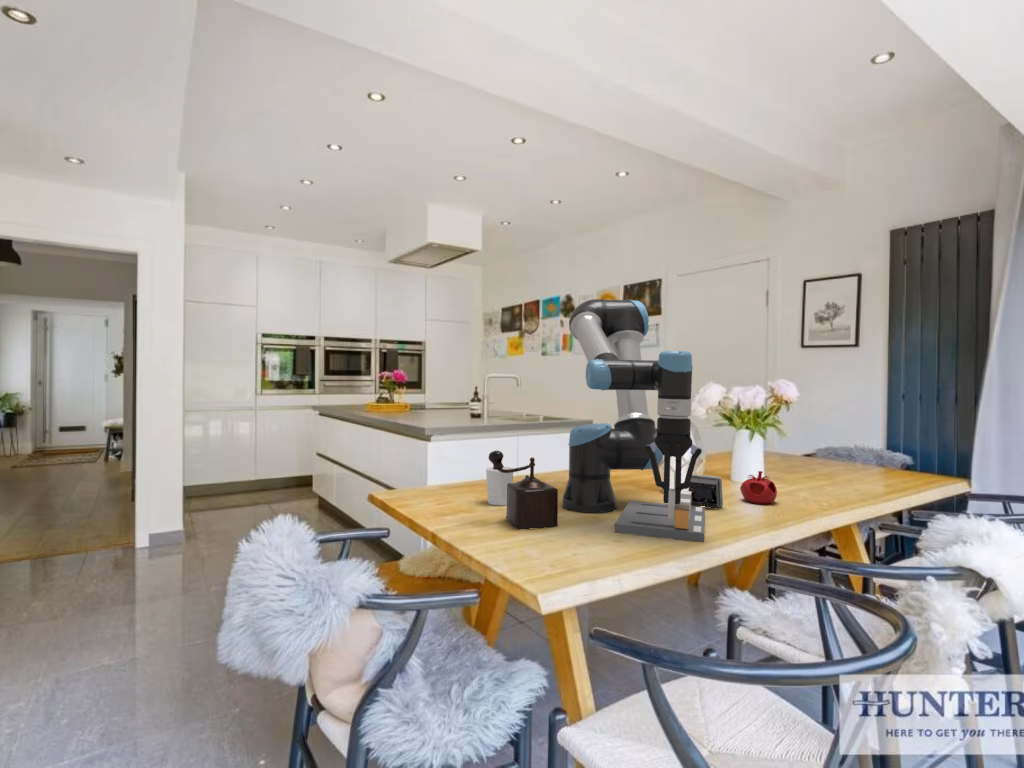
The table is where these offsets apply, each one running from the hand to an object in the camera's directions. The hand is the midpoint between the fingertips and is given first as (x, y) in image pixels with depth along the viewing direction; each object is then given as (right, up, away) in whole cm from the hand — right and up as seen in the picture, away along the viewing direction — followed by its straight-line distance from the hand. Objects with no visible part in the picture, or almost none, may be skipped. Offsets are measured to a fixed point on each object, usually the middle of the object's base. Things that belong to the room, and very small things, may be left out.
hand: (671, 517), depth 126 cm
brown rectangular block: (+2, -2, -1) cm, 3 cm away
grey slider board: (+1, -4, +10) cm, 11 cm away
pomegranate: (+37, -4, +35) cm, 51 cm away
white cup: (-41, -3, +30) cm, 51 cm away
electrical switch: (+18, -4, +28) cm, 34 cm away
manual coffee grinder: (-35, -4, +8) cm, 36 cm away
